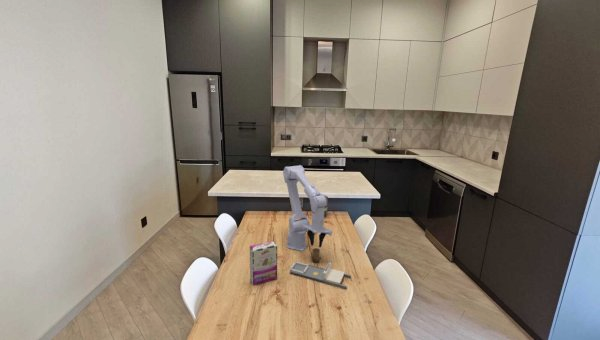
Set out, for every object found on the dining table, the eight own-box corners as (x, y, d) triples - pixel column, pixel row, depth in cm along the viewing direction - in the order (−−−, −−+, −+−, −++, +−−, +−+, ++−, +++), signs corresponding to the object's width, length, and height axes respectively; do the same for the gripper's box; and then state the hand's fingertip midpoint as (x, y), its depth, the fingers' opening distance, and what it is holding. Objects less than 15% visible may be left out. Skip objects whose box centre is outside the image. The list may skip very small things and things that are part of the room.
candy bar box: (273, 273, 128) (273, 240, 124) (277, 279, 124) (278, 245, 120) (249, 279, 123) (249, 245, 119) (253, 285, 119) (252, 250, 115)
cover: (322, 280, 122) (323, 271, 121) (328, 269, 130) (328, 261, 129) (339, 284, 120) (340, 275, 119) (344, 273, 127) (345, 265, 126)
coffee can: (326, 220, 188) (327, 200, 184) (311, 218, 189) (312, 198, 186) (327, 214, 198) (328, 195, 194) (312, 212, 199) (313, 193, 196)
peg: (310, 262, 138) (311, 251, 137) (313, 258, 141) (313, 247, 140) (317, 263, 137) (318, 252, 135) (320, 260, 140) (320, 249, 139)
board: (288, 273, 128) (289, 269, 128) (296, 263, 136) (296, 259, 136) (346, 289, 119) (346, 285, 118) (350, 277, 127) (351, 273, 126)
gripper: (300, 219, 133) (299, 246, 136) (330, 225, 128) (328, 252, 131) (305, 214, 139) (304, 239, 142) (334, 220, 134) (332, 246, 137)
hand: (316, 245), depth 137 cm, fingers open, 3 cm apart
